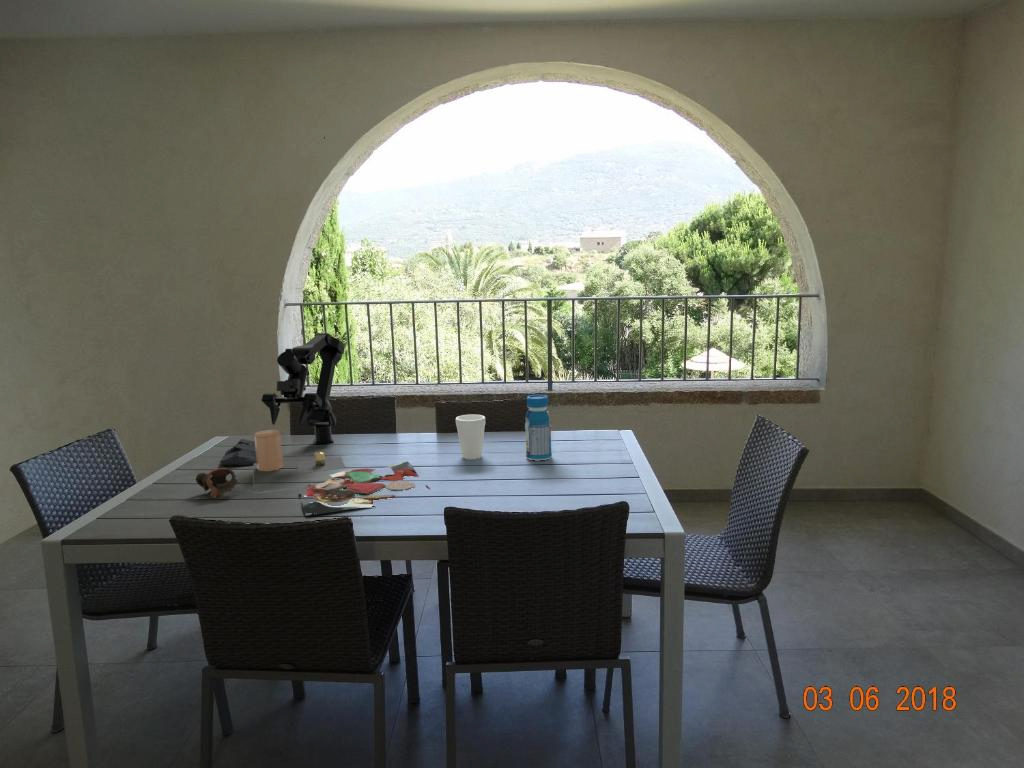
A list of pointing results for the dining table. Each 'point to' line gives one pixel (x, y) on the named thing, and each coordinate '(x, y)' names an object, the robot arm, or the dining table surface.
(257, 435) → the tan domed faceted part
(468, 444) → the foam cup
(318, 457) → the brass weight
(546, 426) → the beverage bottle
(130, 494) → the dining table surface
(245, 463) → the dark slate chunk
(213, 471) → the brown rounded piece
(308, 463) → the charcoal mat
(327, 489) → the colorful flat pile
